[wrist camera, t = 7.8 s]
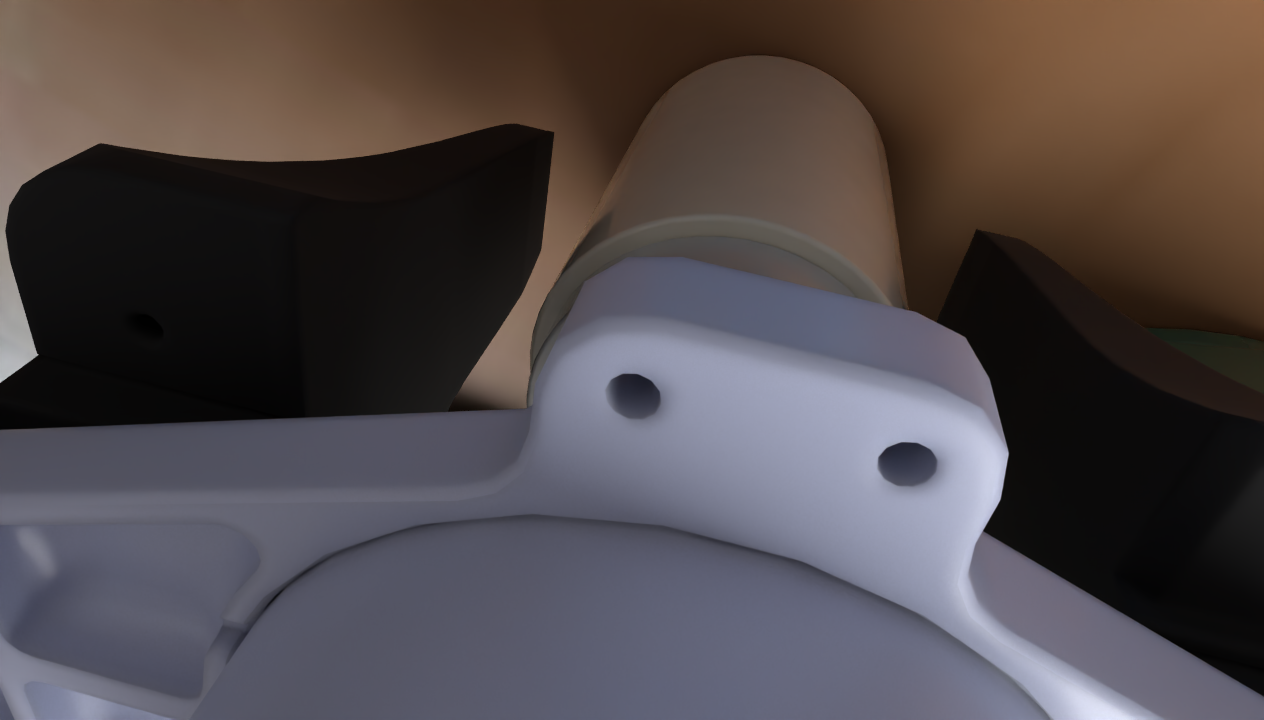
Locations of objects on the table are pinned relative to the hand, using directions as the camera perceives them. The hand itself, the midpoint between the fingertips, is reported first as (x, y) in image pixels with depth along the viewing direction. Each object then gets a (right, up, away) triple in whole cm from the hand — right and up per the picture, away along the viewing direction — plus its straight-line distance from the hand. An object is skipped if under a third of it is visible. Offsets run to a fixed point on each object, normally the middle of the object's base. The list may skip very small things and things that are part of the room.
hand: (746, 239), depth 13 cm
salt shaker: (0, +1, +2) cm, 2 cm away
